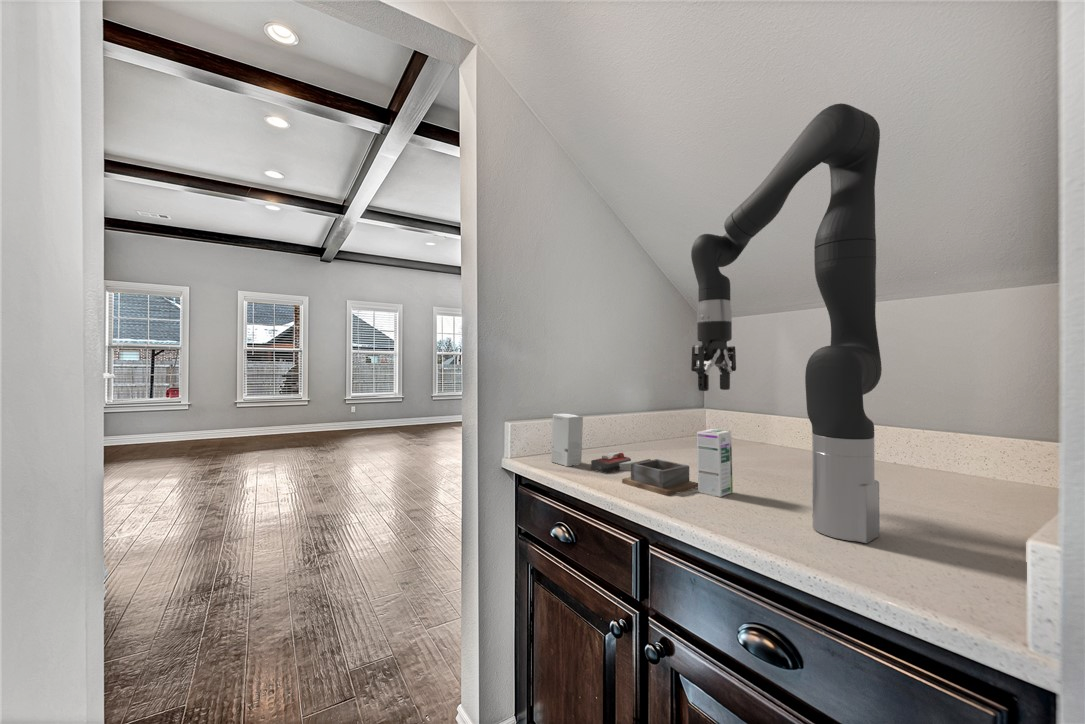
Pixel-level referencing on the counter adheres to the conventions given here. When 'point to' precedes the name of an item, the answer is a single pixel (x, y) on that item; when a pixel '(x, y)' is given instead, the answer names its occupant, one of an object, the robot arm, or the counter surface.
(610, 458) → the walkie-talkie
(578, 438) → the skincare box
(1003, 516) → the counter surface
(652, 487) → the holder
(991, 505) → the counter surface
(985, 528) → the counter surface
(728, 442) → the syrup box
